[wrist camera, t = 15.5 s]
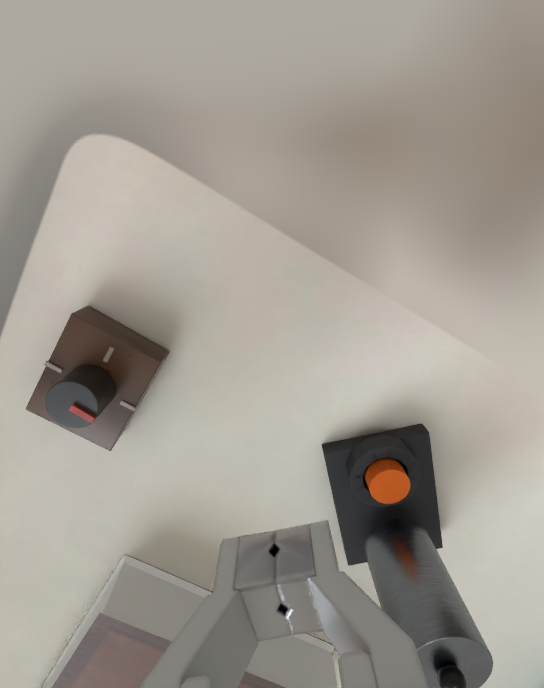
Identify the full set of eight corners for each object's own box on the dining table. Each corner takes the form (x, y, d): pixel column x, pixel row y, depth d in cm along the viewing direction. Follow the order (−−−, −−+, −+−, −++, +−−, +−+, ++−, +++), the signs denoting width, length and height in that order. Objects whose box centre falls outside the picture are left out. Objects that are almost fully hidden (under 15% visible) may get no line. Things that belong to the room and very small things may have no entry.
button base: (320, 437, 38) (325, 458, 34) (421, 416, 37) (436, 435, 34) (345, 552, 42) (352, 581, 39) (436, 535, 42) (450, 562, 38)
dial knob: (59, 391, 32) (33, 412, 29) (81, 355, 32) (57, 372, 28) (101, 416, 33) (81, 439, 30) (124, 381, 32) (106, 401, 29)
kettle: (339, 529, 37) (375, 676, 25) (425, 512, 36) (504, 654, 24) (352, 587, 39) (390, 748, 27) (433, 572, 39) (508, 729, 27)
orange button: (362, 462, 35) (367, 474, 33) (401, 454, 35) (408, 466, 33) (368, 494, 36) (372, 507, 34) (406, 486, 36) (412, 499, 34)
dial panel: (87, 304, 33) (69, 312, 30) (171, 351, 35) (162, 364, 32) (43, 393, 36) (22, 409, 33) (123, 434, 37) (110, 453, 34)
